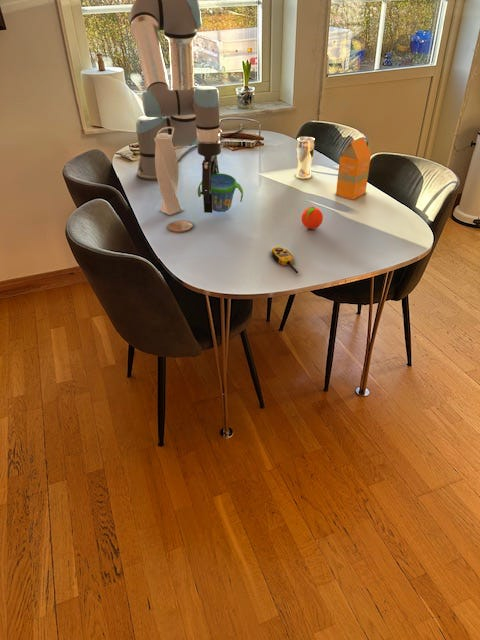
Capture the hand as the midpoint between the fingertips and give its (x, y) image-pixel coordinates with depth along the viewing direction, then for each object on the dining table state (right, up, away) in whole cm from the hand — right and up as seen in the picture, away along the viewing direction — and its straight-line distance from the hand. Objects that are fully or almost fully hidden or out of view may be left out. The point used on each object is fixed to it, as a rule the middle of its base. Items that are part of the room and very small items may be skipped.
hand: (211, 204), depth 163 cm
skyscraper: (-14, -1, +5) cm, 15 cm away
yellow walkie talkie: (+23, -24, -27) cm, 42 cm away
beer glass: (+36, +19, +32) cm, 52 cm away
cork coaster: (-10, -9, -6) cm, 15 cm away
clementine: (+33, -10, -8) cm, 35 cm away
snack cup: (+3, 0, +4) cm, 5 cm away
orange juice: (+52, +8, +16) cm, 55 cm away
